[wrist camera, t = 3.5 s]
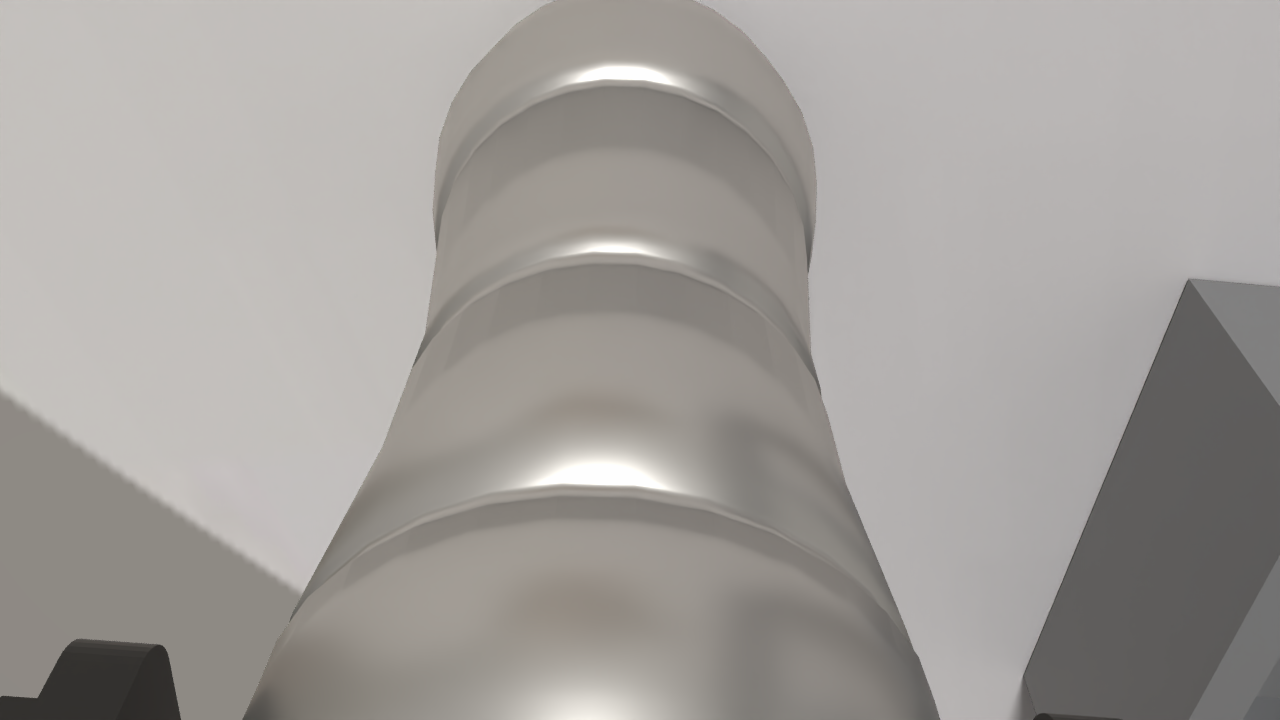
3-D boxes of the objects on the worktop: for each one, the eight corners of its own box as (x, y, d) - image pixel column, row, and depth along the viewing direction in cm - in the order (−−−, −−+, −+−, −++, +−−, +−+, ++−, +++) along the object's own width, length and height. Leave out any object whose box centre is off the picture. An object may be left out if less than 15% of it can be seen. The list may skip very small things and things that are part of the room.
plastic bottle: (801, -64, 20) (1414, 1673, 4) (801, 278, 24) (1108, 1876, 8) (427, -36, 21) (-489, 1662, 4) (486, 297, 24) (132, 1859, 8)
